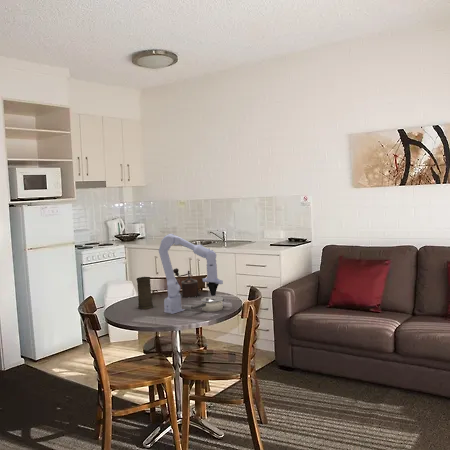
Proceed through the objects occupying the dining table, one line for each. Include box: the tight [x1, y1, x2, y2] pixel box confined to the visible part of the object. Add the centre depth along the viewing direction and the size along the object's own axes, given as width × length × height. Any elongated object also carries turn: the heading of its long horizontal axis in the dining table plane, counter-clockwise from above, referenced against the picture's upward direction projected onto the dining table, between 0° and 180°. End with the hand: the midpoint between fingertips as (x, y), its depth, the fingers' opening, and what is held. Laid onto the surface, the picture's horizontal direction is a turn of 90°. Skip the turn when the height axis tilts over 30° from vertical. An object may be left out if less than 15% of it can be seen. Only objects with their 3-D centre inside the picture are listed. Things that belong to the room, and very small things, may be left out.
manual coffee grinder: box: [173, 267, 199, 299], centre depth 319 cm, size 16×11×18 cm
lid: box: [200, 295, 224, 303], centre depth 280 cm, size 12×12×2 cm
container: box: [135, 276, 154, 310], centre depth 294 cm, size 9×9×18 cm
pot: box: [190, 298, 225, 313], centre depth 278 cm, size 23×12×5 cm, turn 135°
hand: (213, 295), depth 279 cm, fingers closed
